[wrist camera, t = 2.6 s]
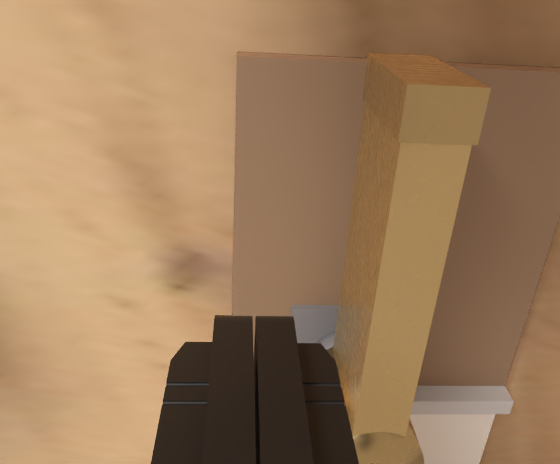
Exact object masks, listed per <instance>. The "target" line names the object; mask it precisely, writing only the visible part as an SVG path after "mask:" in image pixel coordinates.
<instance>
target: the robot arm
mask: <svg viewBox="0 0 560 464" xmlns="http://www.w3.org/2000/svg"><path fill="white" fill-rule="evenodd" d="M151 464H359V461H358V457H357V453H356V448H355V444H354V439H353V435H352V431H351V426H350V422H349V417H348V413H347V409H346V405H345V400H344V395H343V391H342V387H341V382H340V378H339V373H338V369H337V365H336V361H335V360H334V359H333V357H332V356H331V355H330V354H329V353H328V351H327V350H326V349H325V348H324V347H323V345H322V344H321V343H297V337H296V330H295V322H294V317H293V316H256V318H255V336H254V356H253V316H225V315H215V319H214V330H213V341H212V342H185V343H184V345H183V346H182V347H181V348H180V350H179V351H178V352H177V353H176V354H175V356H174V357H173V358H172V359H171V361H170V367H169V372H168V377H167V385H166V388H165V393H164V398H163V405H162V409H161V414H160V419H159V424H158V429H157V435H156V440H155V445H154V450H153V456H152V461H151Z"/></svg>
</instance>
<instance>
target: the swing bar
mask: <svg viewBox="0 0 560 464" xmlns="http://www.w3.org/2000/svg"><path fill="white" fill-rule="evenodd" d="M490 91H491V88H490V87H489V86H487V85H485V84H483V83H481V82H479V81H478V80H476V79H474V78H472V77H470V76H468V75H466V74H465V73H463V72H461V71H459V70H457V69H455V68H453V67H452V66H450V65H448V64H446V63H444V62H442V61H441V60H439V59H437V58H435V57H433V56H426V55H406V54H386V53H368V57H367V65H366V73H365V81H364V89H363V97H362V99H363V100H364V101H365V105H364V113H363V121H362V129H361V136H360V144H359V152H358V160H357V167H356V175H355V183H354V191H353V198H352V206H351V214H350V222H349V229H348V237H347V245H346V253H345V260H344V268H343V276H342V284H341V292H340V299H339V307H338V315H337V323H336V330H335V338H334V346H333V347H332V348H329V349H327V351H328V353H329V354H330V355H331V356H332V357H333V359H334V360H335V361H336V365H337V369H338V373H339V378H340V382H341V387H342V391H343V395H344V400H345V405H346V409H347V413H348V417H349V422H350V426H351V431H352V435H353V439H354V444H355V448H356V453H357V457H358V461H359V464H424V457H423V453H422V450H421V448H420V445H419V442H418V439H417V436H416V434H415V431H414V428H413V425H412V422H411V420H410V415H411V410H412V406H413V402H414V397H415V393H416V389H417V384H418V380H419V375H420V371H421V367H422V362H423V358H424V353H425V349H426V345H427V340H428V336H429V332H430V327H431V323H432V318H433V314H434V310H435V305H436V301H437V296H438V292H439V288H440V283H441V279H442V275H443V270H444V266H445V261H446V257H447V253H448V248H449V244H450V240H451V235H452V231H453V226H454V222H455V218H456V213H457V209H458V204H459V200H460V196H461V191H462V187H463V183H464V178H465V174H466V169H467V165H468V161H469V156H470V152H471V147H472V145H478V142H479V138H480V134H481V129H482V125H483V121H484V116H485V112H486V108H487V104H488V99H489V95H490Z"/></svg>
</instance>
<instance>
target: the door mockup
mask: <svg viewBox="0 0 560 464" xmlns="http://www.w3.org/2000/svg"><path fill="white" fill-rule="evenodd" d="M444 63H446V64H448V65H450V66H452V67H453V68H455V69H457V70H459V71H461V72H463V73H465V74H466V75H468V76H470V77H472V78H474V79H476V80H478V81H479V82H481V83H483V84H485V85H487V86H489V87H490V88H491V91H490V95H489V99H488V104H487V108H486V112H485V116H484V121H483V125H482V129H481V134H480V138H479V142H478V145H472V147H471V152H470V156H469V161H468V165H467V169H466V174H465V178H464V183H463V187H462V191H461V196H460V200H459V204H458V209H457V213H456V218H455V222H454V226H453V231H452V235H451V240H450V244H449V248H448V253H447V257H446V261H445V266H444V270H443V275H442V279H441V283H440V288H439V292H438V296H437V301H436V305H435V310H434V314H433V318H432V323H431V327H430V332H429V336H428V340H427V345H426V349H425V353H424V358H423V362H422V367H421V371H420V375H419V380H418V384H417V389H416V393H415V397H414V402H413V406H412V410H411V415H410V420H411V422H412V425H413V428H414V431H415V434H416V436H417V439H418V442H419V445H420V448H421V450H422V453H423V457H424V464H479V463H480V460H481V457H482V454H483V451H484V448H485V445H486V442H487V439H488V436H489V433H490V430H491V426H492V423H493V420H494V417H495V414H510V412H511V409H512V406H513V403H514V401H513V399H512V397H511V396H510V394H509V392H508V391H507V389H506V387H505V383H506V380H507V377H508V374H509V371H510V368H511V365H512V362H513V359H514V356H515V353H516V350H517V347H518V344H519V341H520V337H521V334H522V331H523V328H524V325H525V322H526V319H527V316H528V313H529V310H530V307H531V304H532V301H533V298H534V295H535V291H536V288H537V285H538V282H539V279H540V276H541V273H542V270H543V267H544V264H545V261H546V258H547V255H548V252H549V249H550V245H551V242H552V239H553V236H554V233H555V230H556V227H557V224H558V221H559V218H560V68H552V67H532V66H512V65H492V64H472V63H452V62H444ZM366 65H367V58H351V57H331V56H311V55H291V54H271V53H251V52H237V90H236V141H235V192H234V243H233V294H232V316H253V356H254V336H255V318H256V316H293V317H294V322H295V330H296V337H297V343H321V344H322V345H323V347H324V348H325V349H326V350H327V349H329V348H332V347H333V346H334V338H335V330H336V323H337V315H338V307H339V299H340V292H341V284H342V276H343V268H344V260H345V253H346V245H347V237H348V229H349V222H350V214H351V206H352V198H353V191H354V183H355V175H356V167H357V160H358V152H359V144H360V136H361V129H362V121H363V113H364V105H365V101H364V100H363V99H362V97H363V89H364V81H365V73H366Z"/></svg>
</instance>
